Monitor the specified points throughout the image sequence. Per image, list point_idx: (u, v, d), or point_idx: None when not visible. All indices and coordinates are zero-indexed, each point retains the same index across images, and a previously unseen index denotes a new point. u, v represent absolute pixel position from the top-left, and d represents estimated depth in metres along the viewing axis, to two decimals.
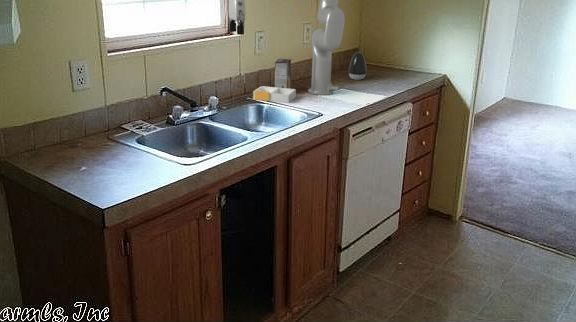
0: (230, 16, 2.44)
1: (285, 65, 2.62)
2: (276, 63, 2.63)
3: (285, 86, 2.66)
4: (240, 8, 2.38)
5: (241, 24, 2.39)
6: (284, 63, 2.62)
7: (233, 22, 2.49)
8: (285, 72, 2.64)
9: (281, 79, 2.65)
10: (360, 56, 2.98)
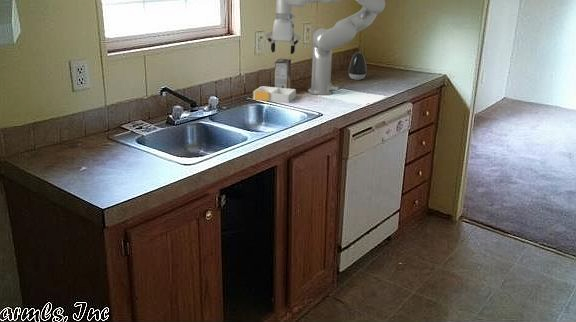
0: (277, 38, 2.61)
1: (285, 65, 2.62)
2: (276, 63, 2.63)
3: (285, 86, 2.66)
4: (293, 30, 2.60)
5: (295, 44, 2.62)
6: (284, 63, 2.62)
7: (274, 43, 2.65)
8: (285, 72, 2.64)
9: (281, 79, 2.65)
10: (360, 56, 2.98)
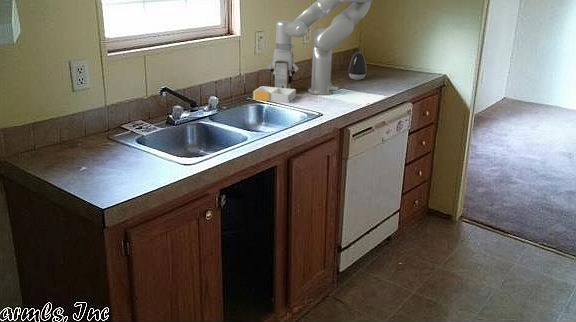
0: None
1: (285, 65, 2.62)
2: (276, 63, 2.63)
3: (285, 86, 2.66)
4: (292, 59, 2.65)
5: (292, 74, 2.67)
6: (284, 63, 2.62)
7: None
8: (285, 72, 2.64)
9: (281, 79, 2.65)
10: (360, 56, 2.98)
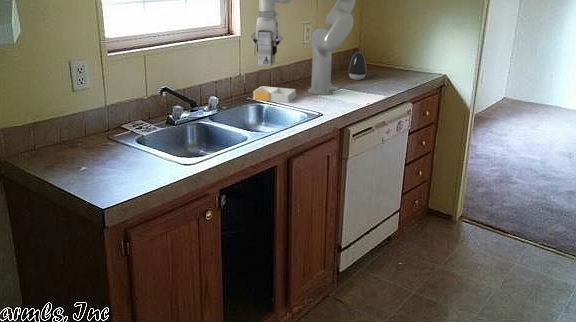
0: None
1: (269, 34, 2.46)
2: (259, 32, 2.47)
3: (269, 57, 2.50)
4: (277, 28, 2.49)
5: (277, 44, 2.51)
6: (268, 32, 2.46)
7: None
8: (269, 42, 2.47)
9: (265, 49, 2.49)
10: (360, 56, 2.98)
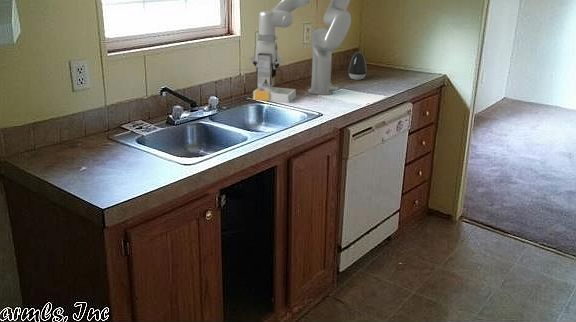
0: None
1: (268, 57, 2.50)
2: (259, 55, 2.50)
3: (268, 79, 2.54)
4: (276, 51, 2.52)
5: (276, 67, 2.55)
6: (267, 55, 2.50)
7: None
8: (268, 65, 2.51)
9: (264, 72, 2.53)
10: (360, 56, 2.98)
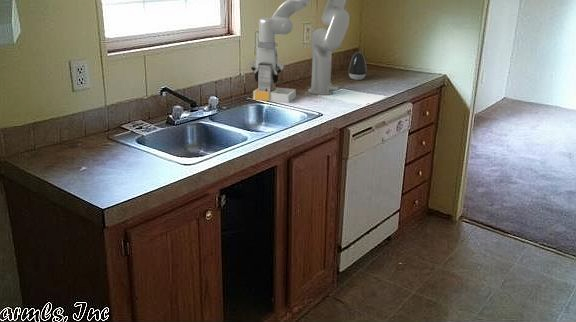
0: None
1: (269, 67, 2.52)
2: (259, 65, 2.52)
3: (269, 89, 2.55)
4: (276, 58, 2.54)
5: (278, 73, 2.56)
6: (268, 65, 2.52)
7: (257, 72, 2.59)
8: (269, 75, 2.53)
9: (265, 82, 2.54)
10: (360, 56, 2.98)
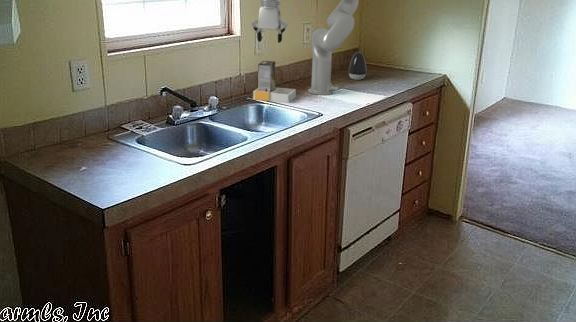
0: (264, 26, 2.50)
1: (268, 67, 2.52)
2: (259, 65, 2.52)
3: (269, 89, 2.55)
4: (279, 17, 2.49)
5: (282, 32, 2.51)
6: (267, 65, 2.52)
7: (260, 32, 2.54)
8: (269, 75, 2.53)
9: (265, 82, 2.54)
10: (360, 56, 2.98)
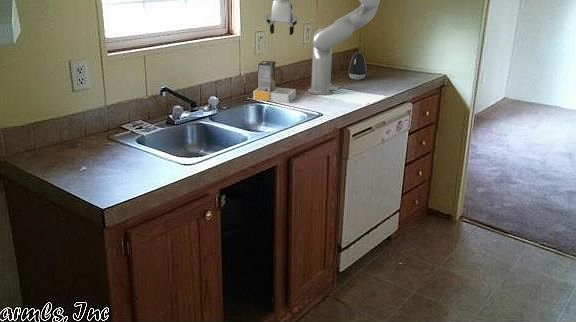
0: (276, 19, 2.61)
1: (268, 67, 2.52)
2: (259, 65, 2.52)
3: (269, 89, 2.55)
4: (292, 10, 2.60)
5: (294, 25, 2.62)
6: (267, 65, 2.52)
7: (272, 24, 2.65)
8: (269, 75, 2.53)
9: (265, 82, 2.54)
10: (360, 56, 2.98)
